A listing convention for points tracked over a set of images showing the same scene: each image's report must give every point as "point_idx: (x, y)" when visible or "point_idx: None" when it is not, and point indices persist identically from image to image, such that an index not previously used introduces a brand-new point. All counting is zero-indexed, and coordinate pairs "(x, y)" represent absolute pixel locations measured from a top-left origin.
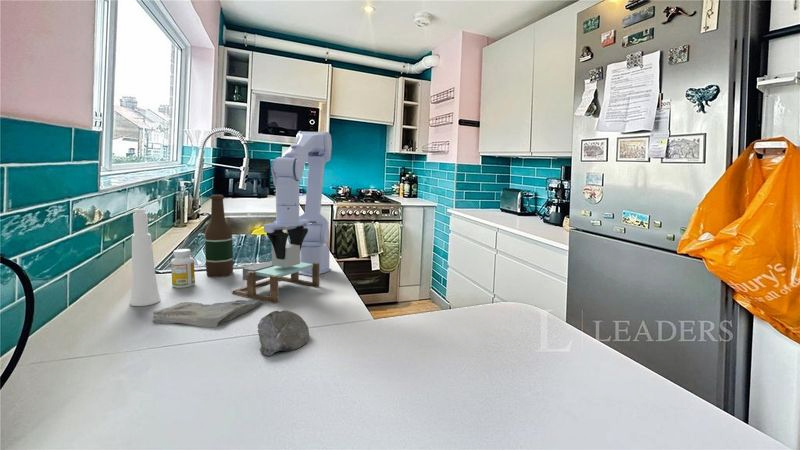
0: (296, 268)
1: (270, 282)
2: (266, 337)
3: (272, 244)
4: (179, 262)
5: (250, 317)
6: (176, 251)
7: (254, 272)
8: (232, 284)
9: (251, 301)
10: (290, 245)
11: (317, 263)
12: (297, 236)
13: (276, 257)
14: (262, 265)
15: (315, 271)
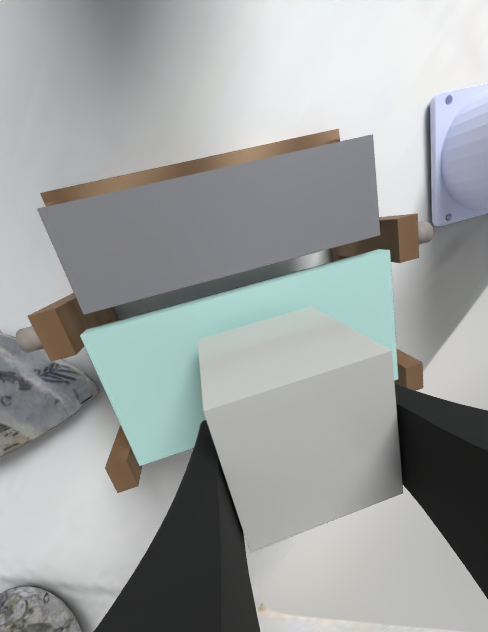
0: None
1: (115, 446)
2: None
3: (166, 517)
4: None
5: (14, 476)
6: None
7: (68, 355)
8: (107, 26)
9: (49, 403)
10: (350, 468)
11: (415, 387)
12: (477, 547)
13: (199, 428)
14: (187, 232)
15: None
